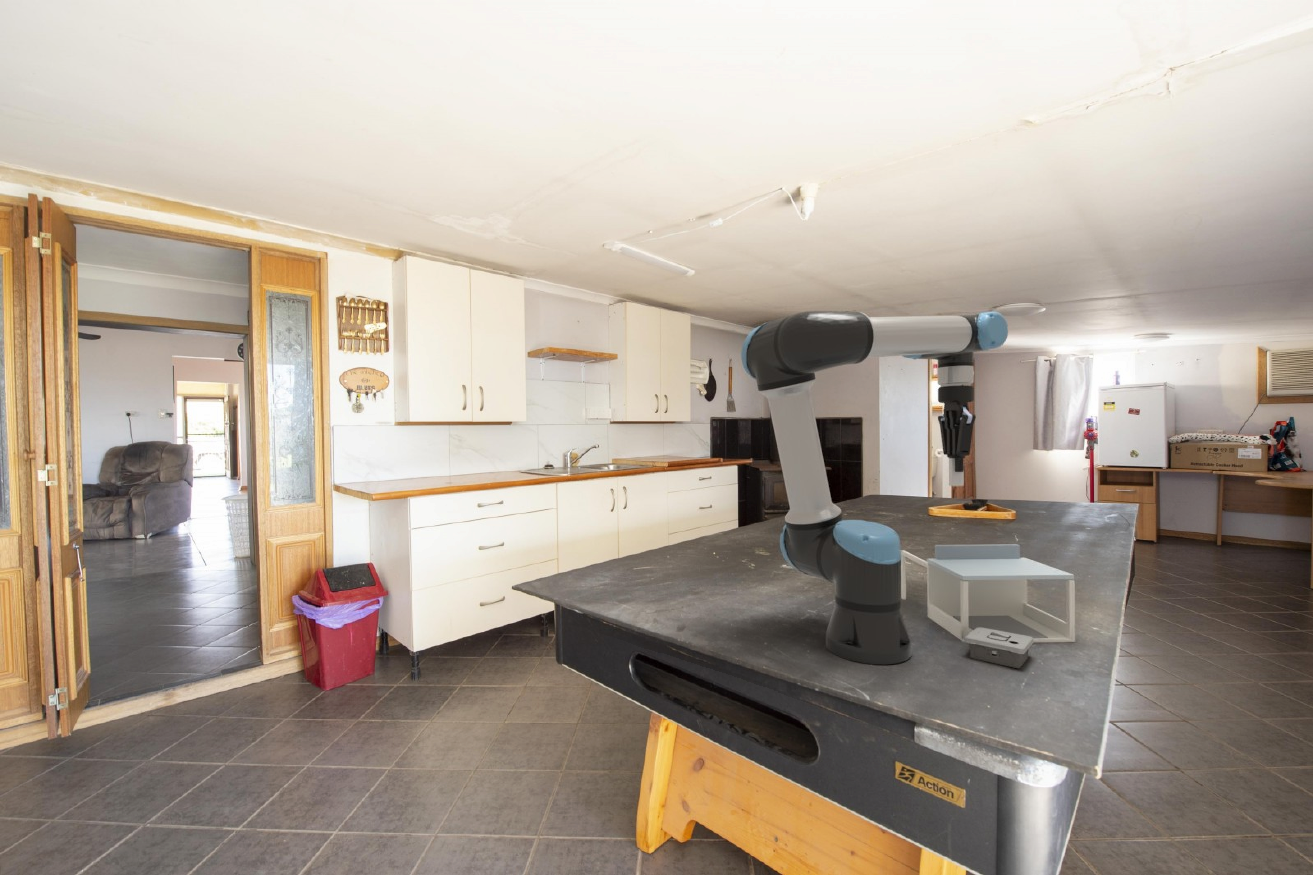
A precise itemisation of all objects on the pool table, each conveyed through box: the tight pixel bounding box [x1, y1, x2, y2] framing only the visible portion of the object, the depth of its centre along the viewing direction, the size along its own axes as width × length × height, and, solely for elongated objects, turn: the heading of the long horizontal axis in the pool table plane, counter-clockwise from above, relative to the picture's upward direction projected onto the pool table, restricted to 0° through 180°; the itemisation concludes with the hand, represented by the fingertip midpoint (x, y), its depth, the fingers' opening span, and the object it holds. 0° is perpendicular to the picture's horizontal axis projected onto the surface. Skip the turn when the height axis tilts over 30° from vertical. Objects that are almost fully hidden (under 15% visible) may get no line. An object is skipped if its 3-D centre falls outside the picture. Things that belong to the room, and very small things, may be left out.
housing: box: [900, 549, 1076, 643], centre depth 126 cm, size 22×29×12 cm
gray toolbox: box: [964, 627, 1035, 669], centre depth 104 cm, size 9×5×9 cm
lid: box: [926, 543, 1075, 580], centre depth 119 cm, size 22×15×4 cm
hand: (956, 485), depth 134 cm, fingers closed
